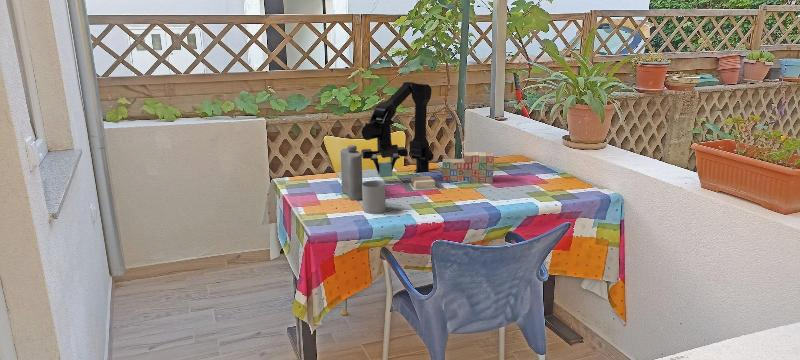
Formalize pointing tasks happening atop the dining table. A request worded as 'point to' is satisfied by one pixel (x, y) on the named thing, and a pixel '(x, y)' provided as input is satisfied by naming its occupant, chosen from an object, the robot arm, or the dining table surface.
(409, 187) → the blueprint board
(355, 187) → the flask
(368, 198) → the cup
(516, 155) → the dining table surface
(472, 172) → the stack of blocks
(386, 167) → the teal cube
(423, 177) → the maple slab
